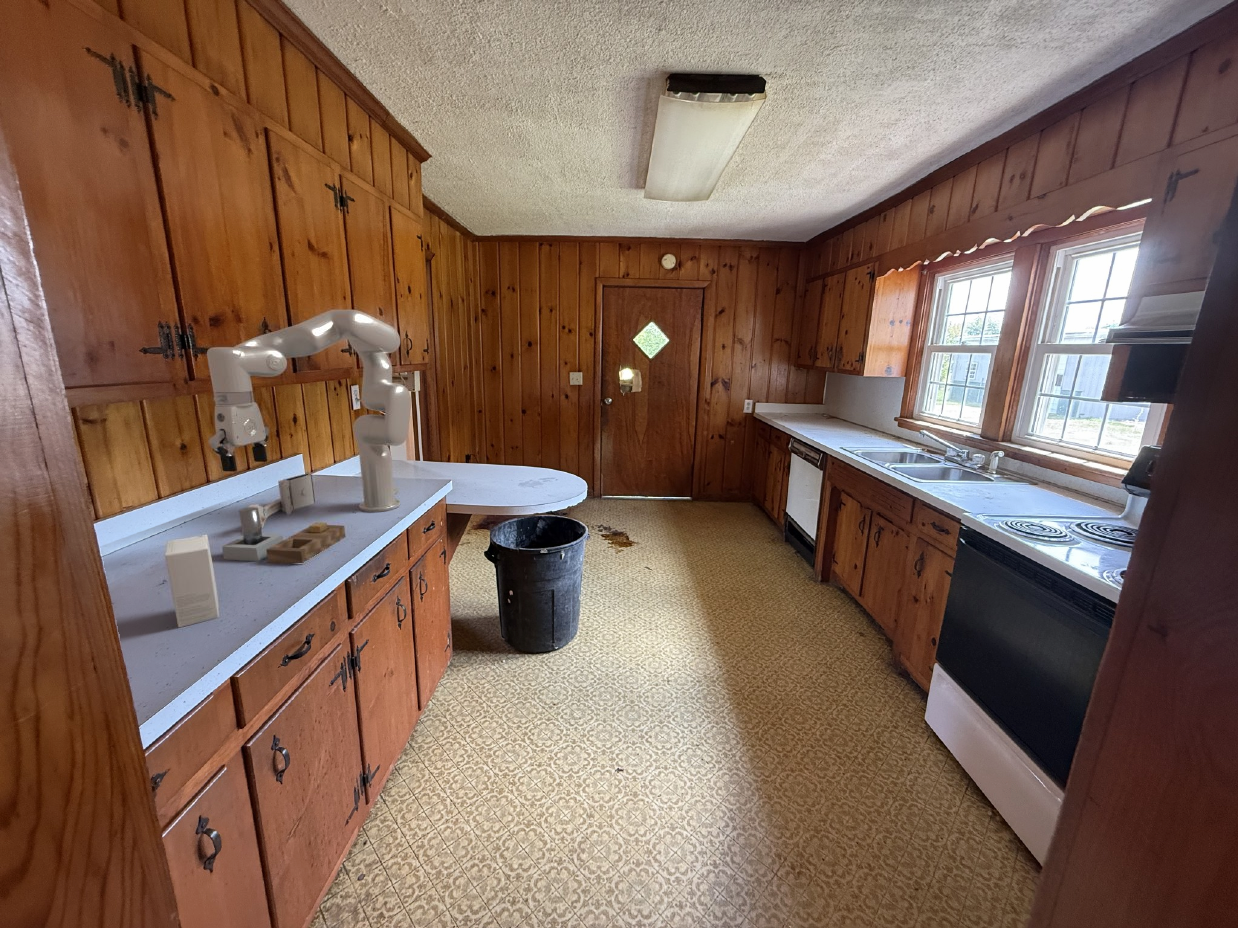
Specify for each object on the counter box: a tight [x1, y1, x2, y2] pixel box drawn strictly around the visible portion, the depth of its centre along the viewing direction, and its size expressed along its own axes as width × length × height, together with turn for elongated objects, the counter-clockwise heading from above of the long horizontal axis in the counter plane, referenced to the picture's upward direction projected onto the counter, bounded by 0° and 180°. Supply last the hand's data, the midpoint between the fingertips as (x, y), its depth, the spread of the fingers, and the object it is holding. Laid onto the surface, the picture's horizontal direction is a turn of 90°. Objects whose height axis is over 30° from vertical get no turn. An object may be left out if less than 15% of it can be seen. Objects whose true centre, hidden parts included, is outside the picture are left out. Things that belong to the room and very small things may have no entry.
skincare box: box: [164, 534, 220, 628], centre depth 97 cm, size 8×7×16 cm
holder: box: [221, 533, 284, 562], centre depth 127 cm, size 9×9×4 cm
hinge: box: [277, 473, 316, 516], centre depth 161 cm, size 14×5×10 cm, turn 177°
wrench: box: [247, 498, 282, 530], centre depth 151 cm, size 8×2×30 cm
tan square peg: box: [308, 521, 328, 534], centre depth 134 cm, size 3×3×5 cm
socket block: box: [266, 524, 346, 564], centre depth 130 cm, size 18×9×4 cm, turn 177°
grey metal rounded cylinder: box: [238, 507, 263, 545], centre depth 126 cm, size 4×4×12 cm
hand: (246, 466), depth 123 cm, fingers open, 9 cm apart
